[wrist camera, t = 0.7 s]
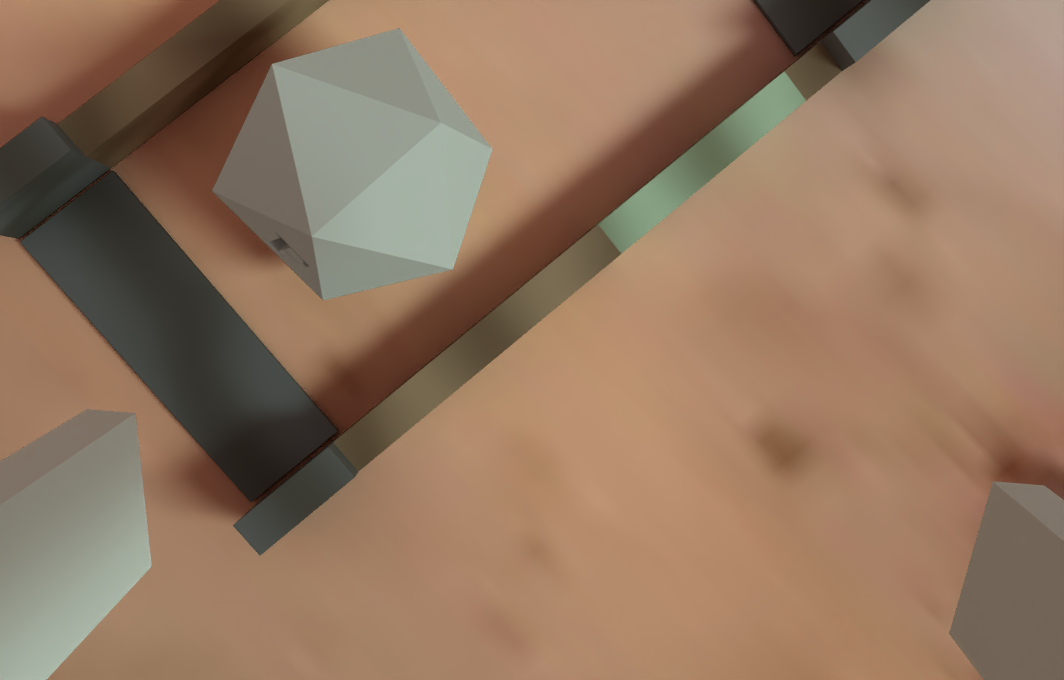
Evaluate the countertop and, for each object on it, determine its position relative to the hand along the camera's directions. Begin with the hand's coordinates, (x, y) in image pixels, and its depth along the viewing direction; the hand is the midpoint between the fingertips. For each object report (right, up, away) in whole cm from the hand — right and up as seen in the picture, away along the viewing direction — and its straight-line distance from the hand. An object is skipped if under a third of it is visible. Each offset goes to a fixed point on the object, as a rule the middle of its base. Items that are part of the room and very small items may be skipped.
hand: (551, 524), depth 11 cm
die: (-7, +9, +19) cm, 22 cm away
